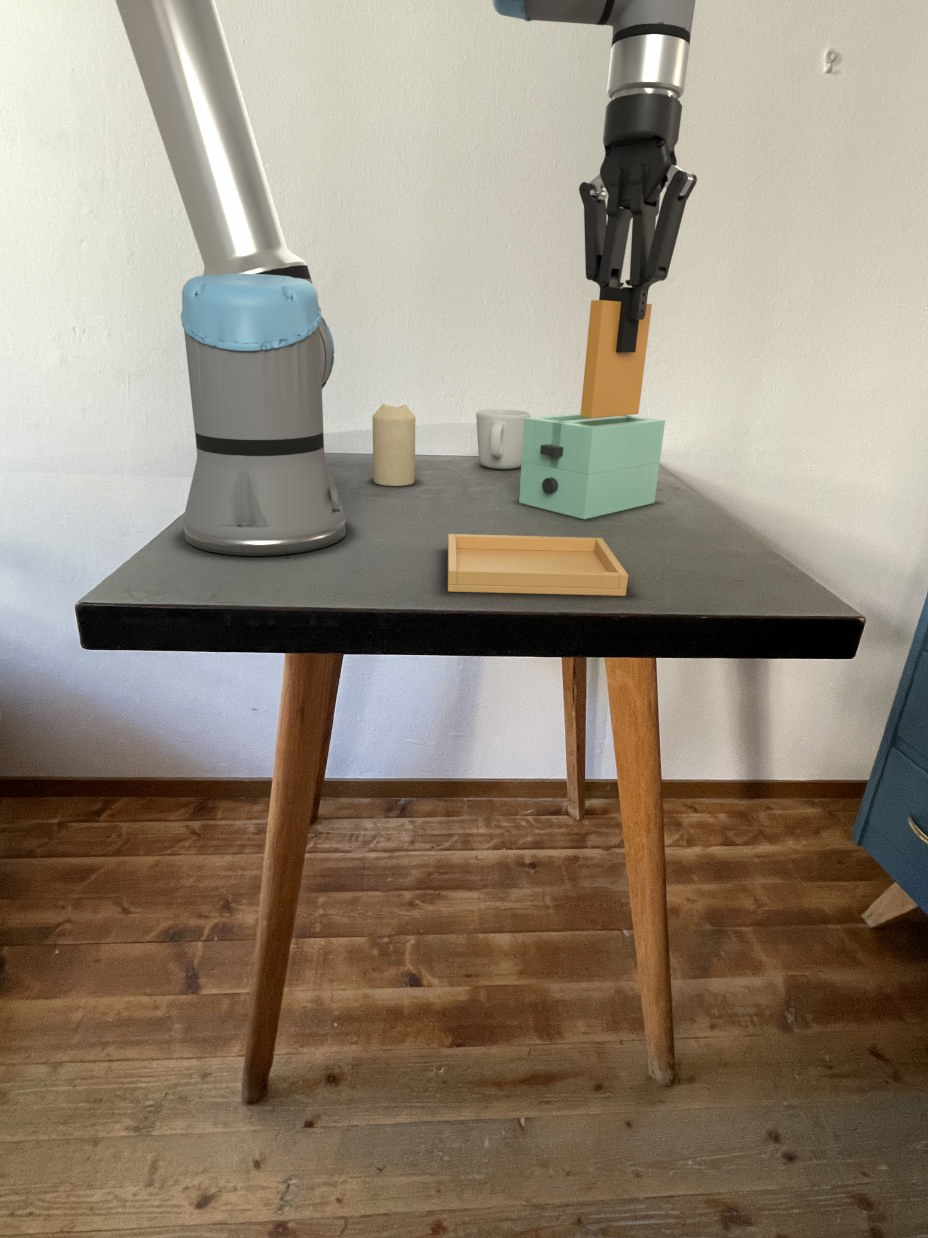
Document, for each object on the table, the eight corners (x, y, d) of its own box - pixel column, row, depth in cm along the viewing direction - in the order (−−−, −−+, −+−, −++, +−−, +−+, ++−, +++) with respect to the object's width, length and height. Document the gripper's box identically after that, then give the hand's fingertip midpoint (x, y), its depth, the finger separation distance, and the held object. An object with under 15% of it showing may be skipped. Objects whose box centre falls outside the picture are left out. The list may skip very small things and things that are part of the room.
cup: (521, 477, 104) (524, 418, 101) (465, 473, 105) (467, 415, 102) (530, 464, 114) (533, 410, 111) (479, 460, 115) (481, 407, 112)
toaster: (512, 504, 89) (517, 418, 85) (590, 488, 98) (597, 411, 95) (577, 521, 82) (586, 428, 78) (654, 502, 92) (665, 420, 88)
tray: (447, 591, 59) (448, 570, 58) (447, 552, 69) (448, 533, 69) (625, 596, 60) (628, 575, 59) (600, 556, 70) (602, 537, 69)
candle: (416, 478, 101) (417, 402, 97) (413, 487, 96) (413, 407, 92) (376, 477, 101) (375, 401, 97) (370, 485, 96) (369, 405, 92)
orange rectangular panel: (580, 416, 83) (591, 299, 78) (627, 412, 88) (640, 303, 84) (591, 418, 82) (603, 300, 77) (638, 414, 87) (652, 303, 83)
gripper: (730, 96, 71) (693, 355, 80) (607, 119, 81) (586, 348, 90) (689, 77, 66) (654, 355, 75) (563, 104, 76) (545, 347, 85)
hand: (617, 350), depth 82 cm, fingers closed on orange rectangular panel, 1 cm apart
